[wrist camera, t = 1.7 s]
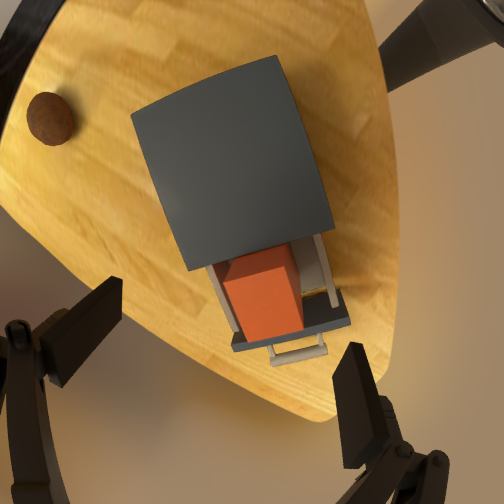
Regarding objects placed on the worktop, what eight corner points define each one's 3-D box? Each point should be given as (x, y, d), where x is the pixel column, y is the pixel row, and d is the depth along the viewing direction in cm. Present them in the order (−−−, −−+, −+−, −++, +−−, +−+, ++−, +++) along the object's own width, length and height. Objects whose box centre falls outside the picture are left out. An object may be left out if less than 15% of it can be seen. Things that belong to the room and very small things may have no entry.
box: (284, 227, 34) (284, 265, 22) (299, 273, 35) (304, 330, 24) (243, 239, 35) (222, 282, 23) (259, 284, 36) (247, 343, 25)
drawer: (347, 323, 38) (356, 354, 32) (252, 346, 41) (246, 379, 34) (308, 177, 33) (314, 183, 26) (198, 212, 35) (179, 226, 29)
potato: (65, 156, 36) (36, 160, 30) (37, 118, 34) (10, 118, 28) (89, 122, 34) (60, 120, 28) (59, 85, 32) (32, 80, 26)
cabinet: (323, 210, 35) (335, 228, 26) (209, 245, 38) (188, 271, 29) (278, 77, 30) (276, 54, 22) (163, 121, 33) (129, 114, 25)
